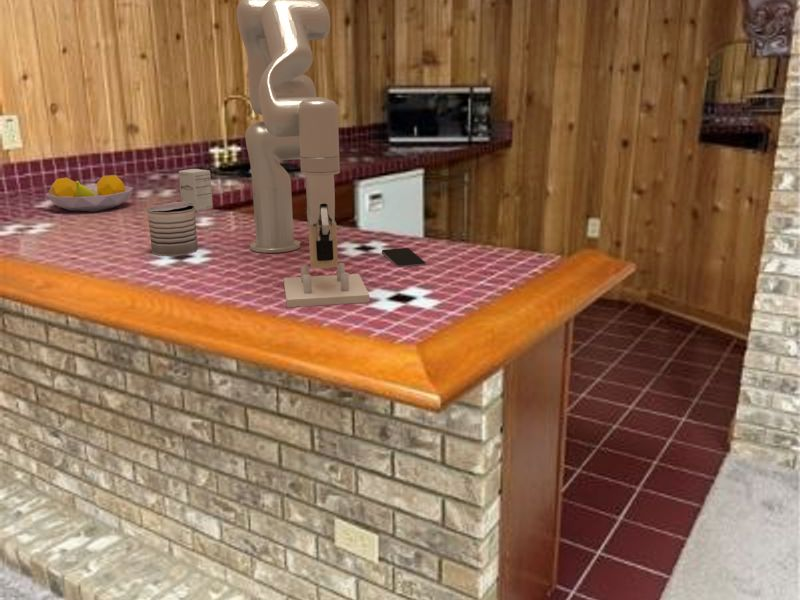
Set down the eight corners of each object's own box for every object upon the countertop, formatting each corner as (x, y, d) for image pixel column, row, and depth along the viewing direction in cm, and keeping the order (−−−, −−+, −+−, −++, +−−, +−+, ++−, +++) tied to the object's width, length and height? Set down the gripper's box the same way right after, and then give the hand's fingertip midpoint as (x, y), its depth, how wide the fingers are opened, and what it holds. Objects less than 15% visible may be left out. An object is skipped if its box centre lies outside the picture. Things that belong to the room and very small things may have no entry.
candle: (326, 260, 153) (324, 212, 150) (343, 265, 149) (341, 216, 146) (304, 265, 149) (302, 216, 147) (322, 270, 146) (319, 219, 143)
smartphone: (397, 266, 171) (380, 249, 184) (397, 270, 171) (380, 254, 184) (427, 263, 173) (408, 247, 186) (427, 268, 173) (408, 251, 186)
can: (185, 257, 181) (180, 208, 178) (142, 255, 184) (137, 207, 180) (206, 246, 192) (202, 200, 188) (165, 245, 194) (161, 199, 191)
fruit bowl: (76, 201, 262) (71, 168, 258) (148, 202, 258) (145, 169, 255) (27, 215, 235) (21, 180, 232) (107, 217, 232) (103, 181, 228)
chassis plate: (284, 284, 157) (282, 261, 156) (358, 280, 160) (358, 258, 159) (287, 307, 142) (285, 282, 141) (369, 302, 145) (369, 277, 144)
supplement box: (181, 209, 244) (177, 170, 241) (198, 206, 250) (195, 168, 246) (196, 211, 240) (192, 172, 237) (213, 208, 246) (210, 169, 242)
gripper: (298, 161, 151) (302, 248, 156) (303, 171, 135) (307, 268, 140) (335, 160, 152) (338, 246, 158) (344, 170, 136) (347, 266, 141)
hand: (323, 255), depth 149 cm, fingers closed on candle, 5 cm apart
